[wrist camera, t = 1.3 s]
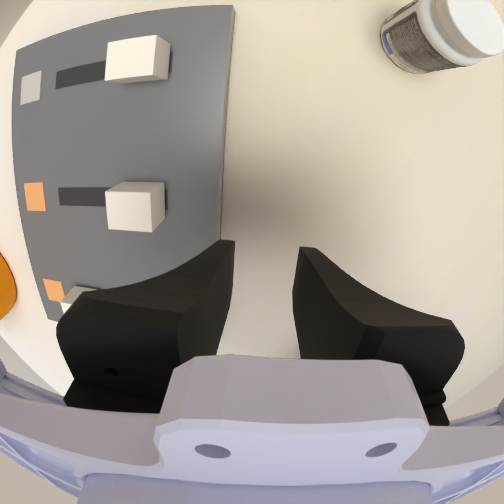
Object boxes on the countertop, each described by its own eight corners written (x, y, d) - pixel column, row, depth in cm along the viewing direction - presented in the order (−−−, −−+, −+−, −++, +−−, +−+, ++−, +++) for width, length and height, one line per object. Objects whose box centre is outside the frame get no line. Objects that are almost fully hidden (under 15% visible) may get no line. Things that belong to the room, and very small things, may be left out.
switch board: (218, 339, 26) (215, 352, 24) (55, 310, 26) (47, 319, 24) (235, 12, 14) (232, 4, 13) (27, 51, 14) (15, 50, 13)
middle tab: (165, 217, 19) (151, 232, 17) (125, 215, 19) (108, 229, 17) (164, 182, 18) (150, 192, 16) (122, 181, 18) (104, 191, 16)
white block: (108, 313, 23) (96, 331, 21) (80, 308, 23) (67, 324, 21) (102, 290, 22) (89, 308, 20) (74, 285, 22) (60, 301, 20)
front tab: (167, 79, 15) (152, 74, 13) (123, 83, 15) (104, 80, 13) (170, 44, 14) (156, 34, 12) (126, 49, 14) (108, 42, 12)
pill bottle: (433, 83, 15) (511, 80, 8) (375, 60, 15) (440, 35, 8) (438, 30, 13) (509, 8, 6) (381, 5, 13) (438, -39, 5)
